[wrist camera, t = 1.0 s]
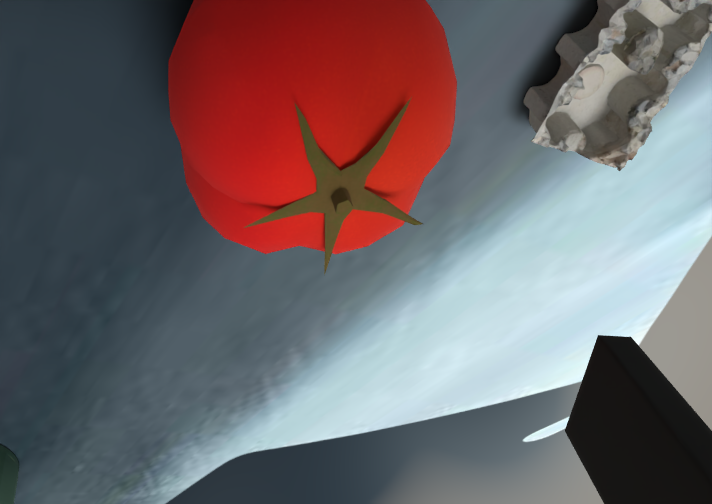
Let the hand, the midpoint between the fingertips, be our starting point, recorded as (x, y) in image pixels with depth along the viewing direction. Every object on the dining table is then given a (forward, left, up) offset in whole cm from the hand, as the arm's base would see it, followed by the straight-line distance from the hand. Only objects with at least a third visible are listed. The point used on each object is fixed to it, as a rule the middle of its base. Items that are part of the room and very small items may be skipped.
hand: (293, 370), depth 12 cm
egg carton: (+19, +11, -21) cm, 30 cm away
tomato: (+4, 0, -21) cm, 21 cm away
